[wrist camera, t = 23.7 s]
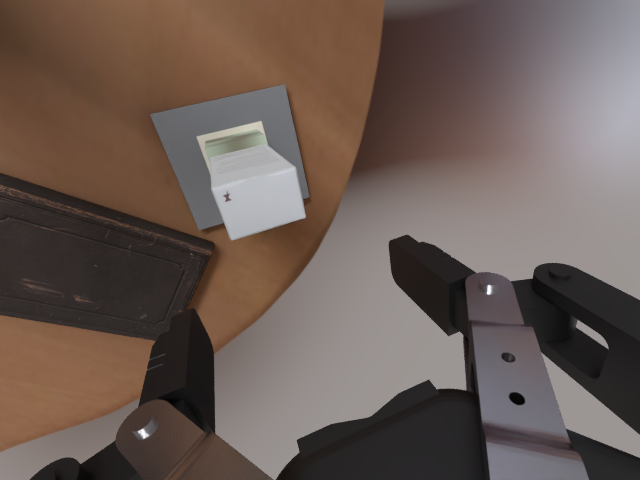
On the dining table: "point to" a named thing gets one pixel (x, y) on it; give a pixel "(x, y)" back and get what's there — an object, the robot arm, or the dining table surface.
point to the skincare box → (255, 190)
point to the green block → (234, 143)
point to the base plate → (219, 121)
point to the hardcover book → (92, 264)
